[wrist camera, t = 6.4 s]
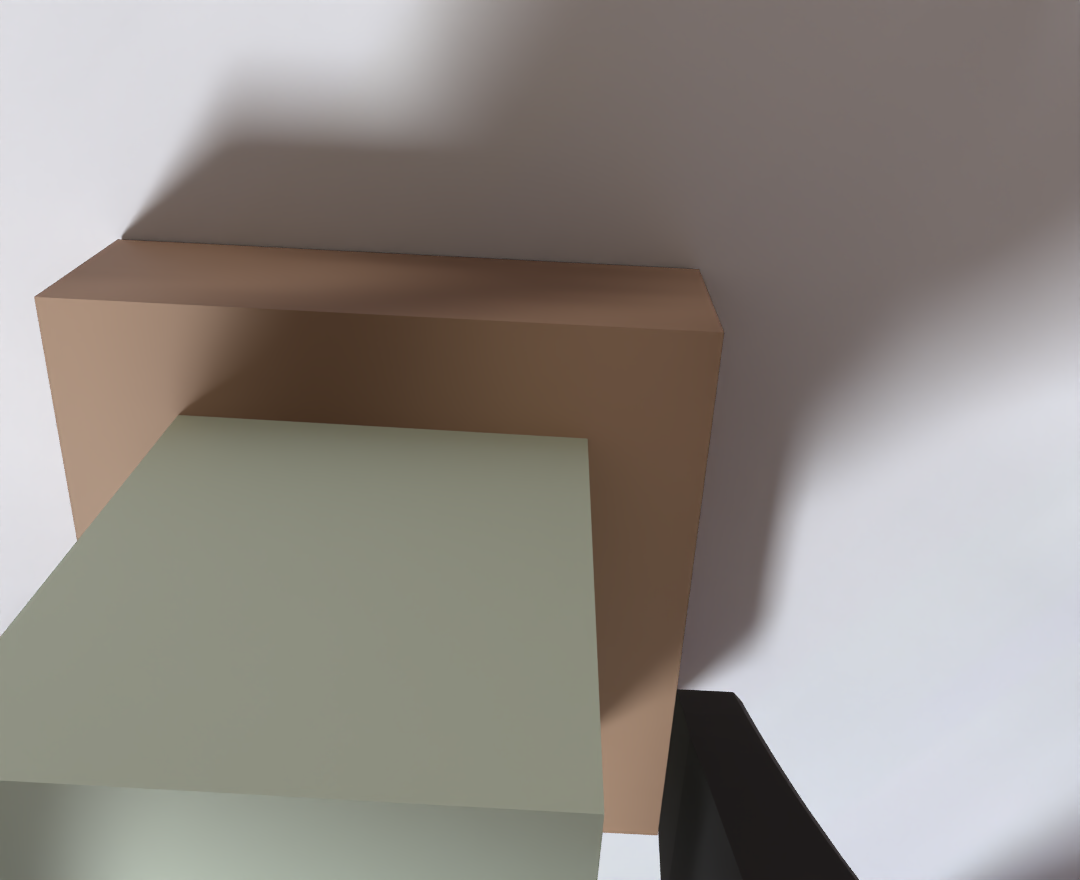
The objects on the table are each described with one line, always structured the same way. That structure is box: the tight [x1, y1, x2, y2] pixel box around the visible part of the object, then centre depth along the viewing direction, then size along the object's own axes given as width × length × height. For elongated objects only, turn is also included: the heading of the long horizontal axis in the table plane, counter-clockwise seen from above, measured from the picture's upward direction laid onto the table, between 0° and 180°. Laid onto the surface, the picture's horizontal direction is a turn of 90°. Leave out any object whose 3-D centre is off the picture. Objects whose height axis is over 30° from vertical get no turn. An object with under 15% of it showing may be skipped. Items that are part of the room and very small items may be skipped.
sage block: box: [0, 415, 604, 880], centre depth 11 cm, size 5×5×6 cm
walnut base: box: [34, 239, 724, 835], centre depth 15 cm, size 8×8×2 cm
